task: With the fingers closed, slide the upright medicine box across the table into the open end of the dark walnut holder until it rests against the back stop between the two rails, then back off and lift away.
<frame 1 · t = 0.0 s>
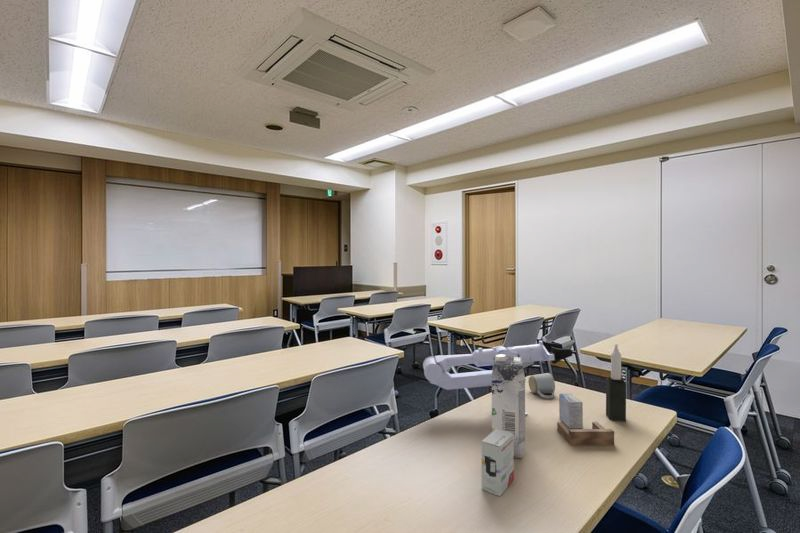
hand: (566, 349, 131), 22 cm above the table, tool horizontal, fingers open, 7 cm apart
medicine box: (570, 424, 122), on the table
holder: (584, 436, 113), on the table
ink box: (498, 485, 90), on the table
juice carton: (508, 450, 106), on the table
ceramic mug: (543, 394, 148), on the table
candle: (615, 418, 126), on the table
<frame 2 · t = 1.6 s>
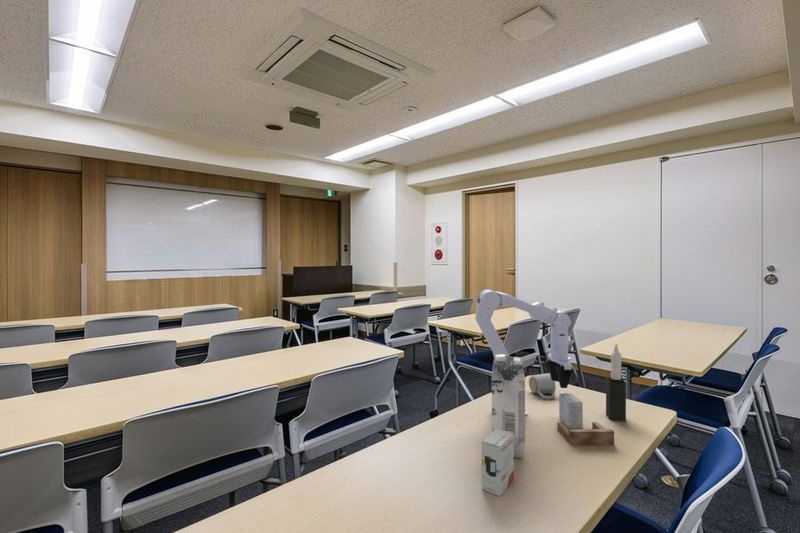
hand: (559, 383, 131), 10 cm above the table, tool pointing down, fingers open, 7 cm apart
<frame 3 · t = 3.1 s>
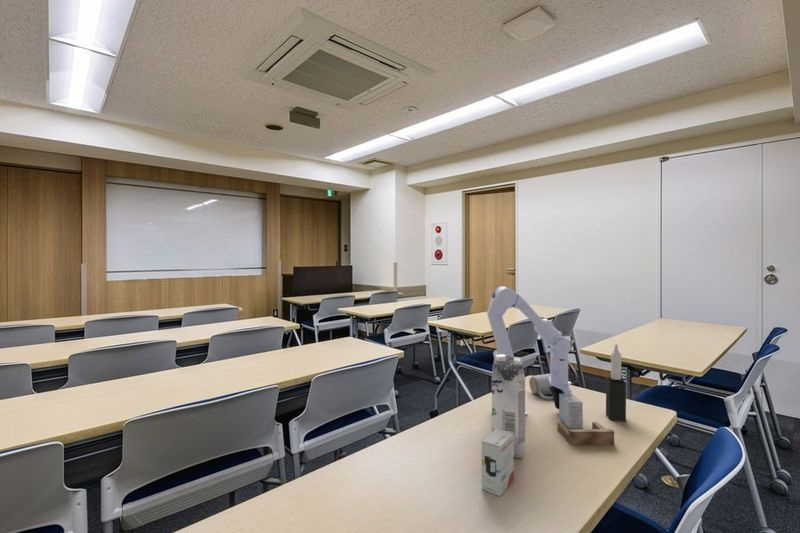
hand: (559, 408, 131), 1 cm above the table, tool pointing down, fingers closed
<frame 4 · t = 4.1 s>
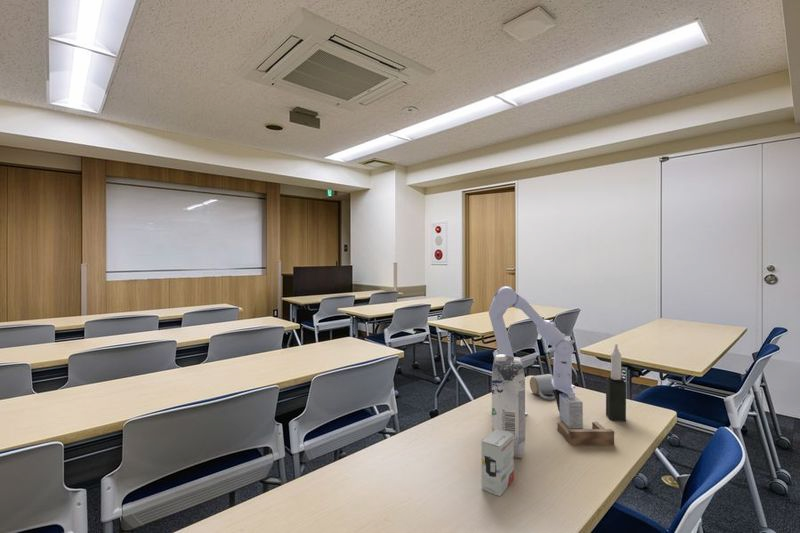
hand: (562, 411, 128), 1 cm above the table, tool pointing down, fingers closed
medicine box: (570, 424, 122), on the table, touching gripper
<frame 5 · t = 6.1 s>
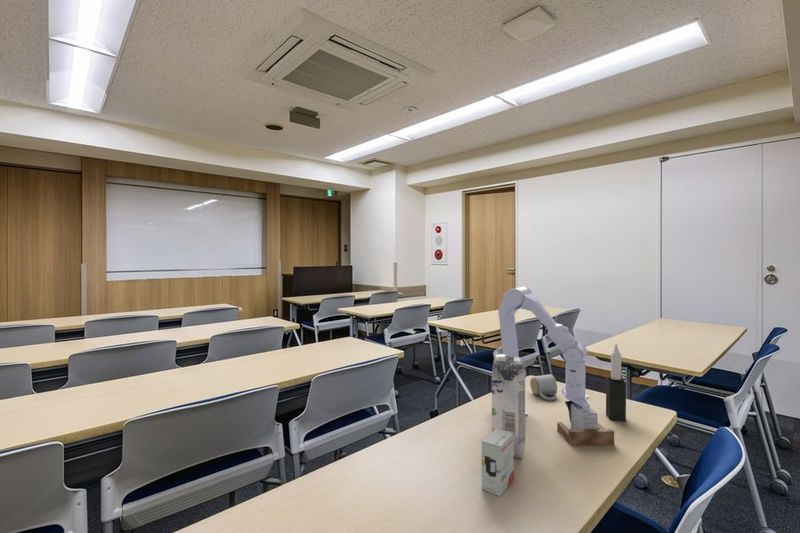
hand: (575, 424, 119), 1 cm above the table, tool pointing down, fingers closed
medicine box: (583, 436, 113), on the table, touching gripper, holder
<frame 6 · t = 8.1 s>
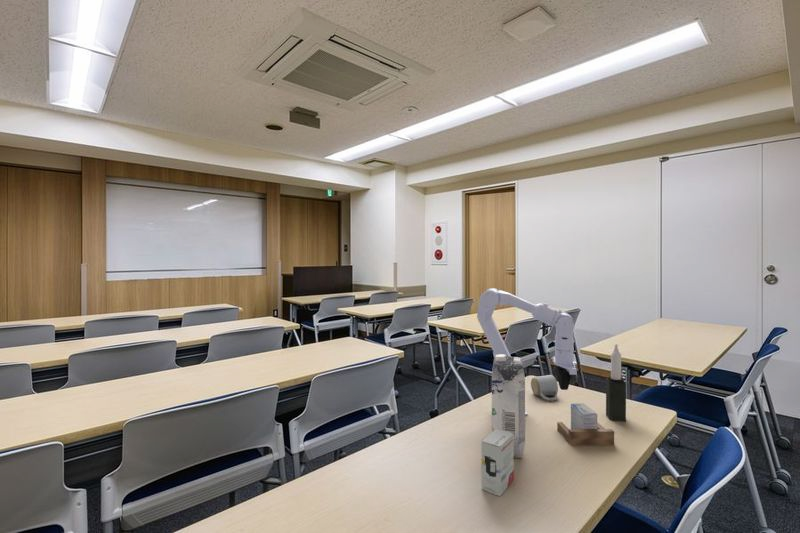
hand: (563, 389, 126), 10 cm above the table, tool pointing down, fingers closed
medicine box: (583, 436, 113), on the table
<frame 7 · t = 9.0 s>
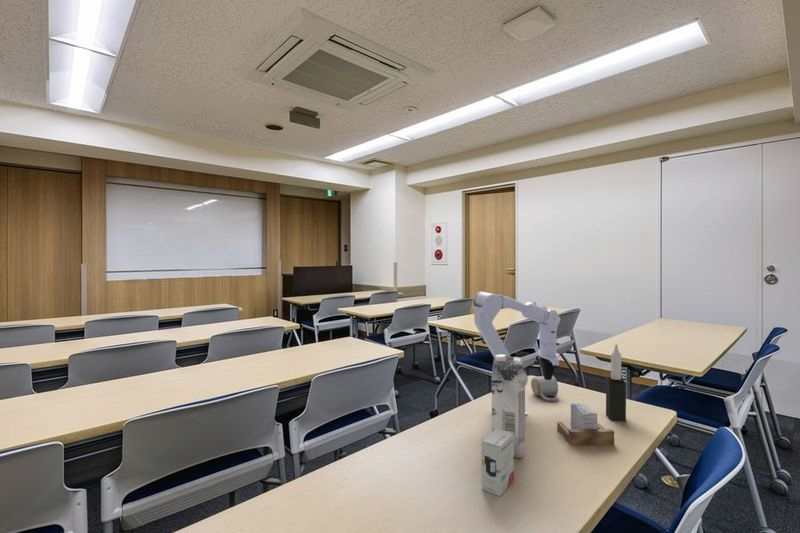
hand: (547, 379, 136), 10 cm above the table, tool pointing down, fingers closed
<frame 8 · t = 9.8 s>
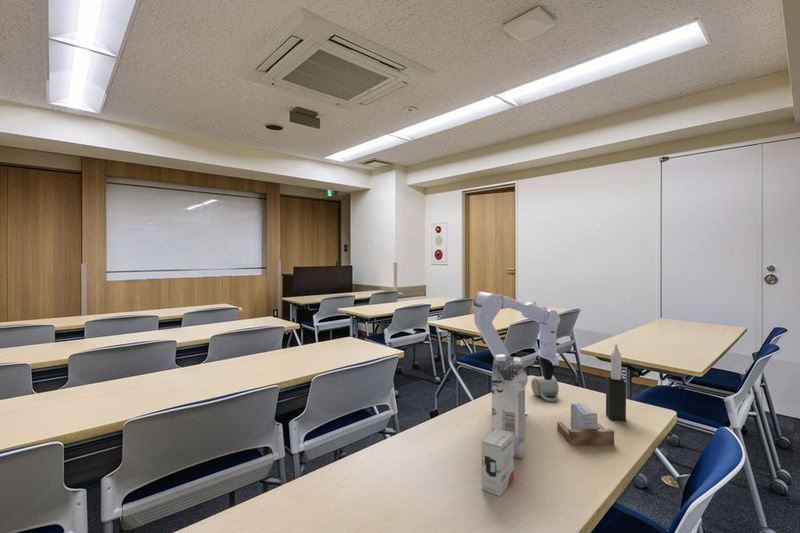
hand: (547, 379, 136), 10 cm above the table, tool pointing down, fingers closed
at the end: medicine box inside the target area on the holder (0.5 cm from its centre), point 0.0 cm above the holder's base; medicine box tilted 0°; medicine box moved 8.5 cm from its start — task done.
